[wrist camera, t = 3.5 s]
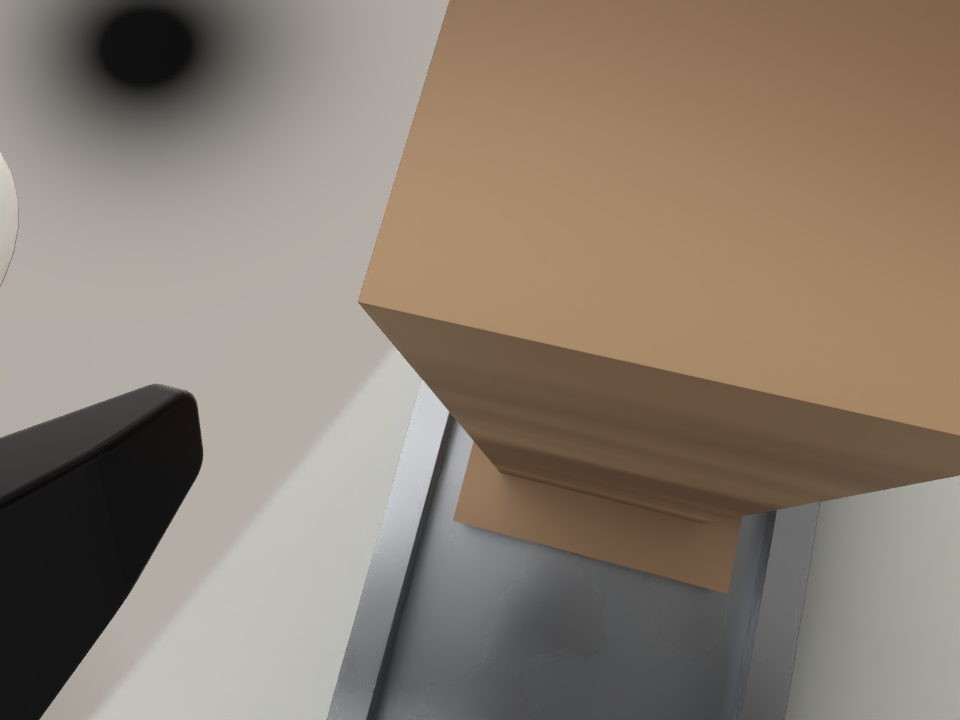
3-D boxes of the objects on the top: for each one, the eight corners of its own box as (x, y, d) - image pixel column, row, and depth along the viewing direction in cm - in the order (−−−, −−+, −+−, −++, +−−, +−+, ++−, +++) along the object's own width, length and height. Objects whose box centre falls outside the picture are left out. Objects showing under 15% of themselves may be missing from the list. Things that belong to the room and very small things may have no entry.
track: (663, 1374, 14) (683, 1541, 11) (207, 1177, 15) (143, 1291, 13) (843, 286, 18) (885, 248, 16) (475, 214, 20) (463, 169, 17)
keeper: (714, 590, 16) (1180, 715, 4) (461, 523, 17) (200, 454, 5) (764, 325, 18) (1236, -208, 5) (525, 275, 18) (447, -281, 6)
